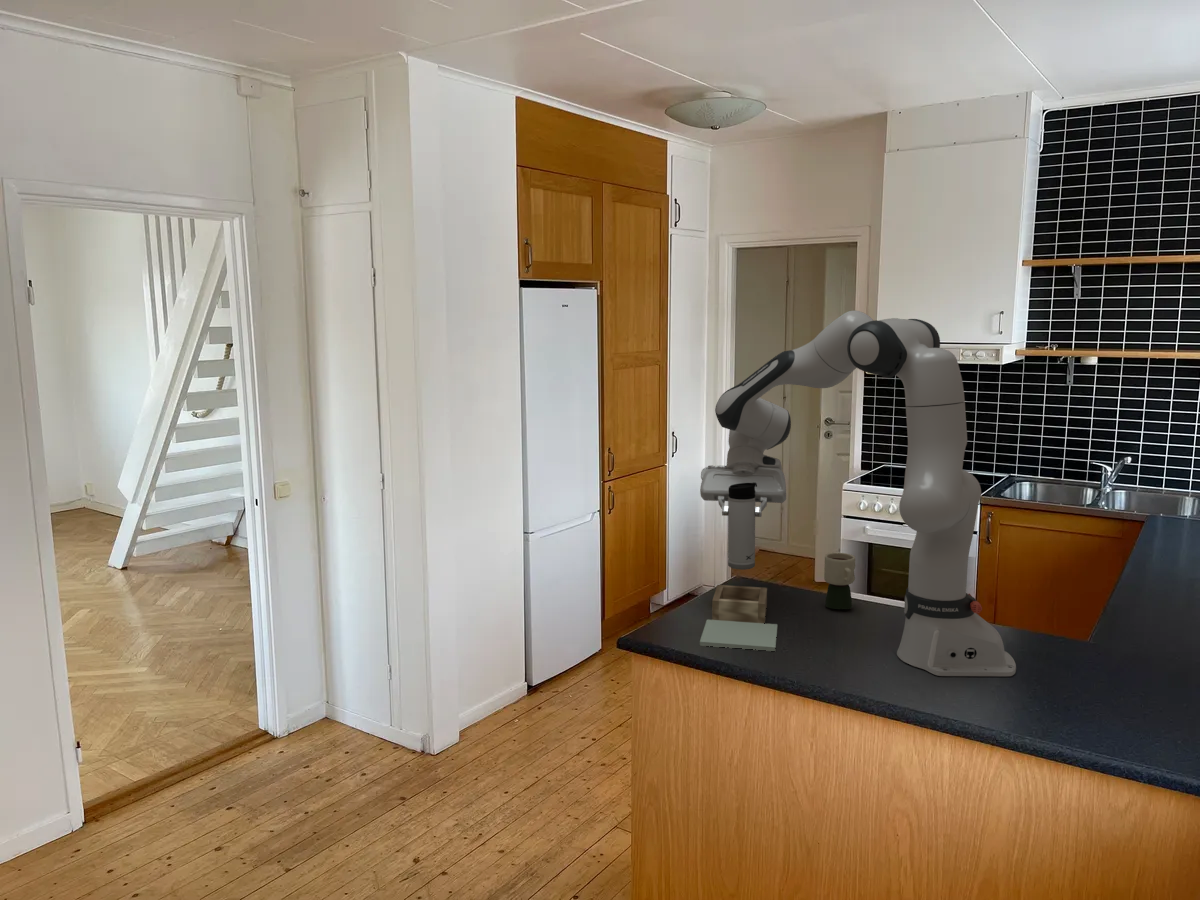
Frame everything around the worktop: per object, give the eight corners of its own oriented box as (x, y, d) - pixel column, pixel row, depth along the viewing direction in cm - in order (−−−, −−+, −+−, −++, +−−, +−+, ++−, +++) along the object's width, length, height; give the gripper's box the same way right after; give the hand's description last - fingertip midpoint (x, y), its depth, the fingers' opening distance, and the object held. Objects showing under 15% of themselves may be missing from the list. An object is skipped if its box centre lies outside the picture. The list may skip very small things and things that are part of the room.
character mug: (862, 614, 206) (864, 561, 204) (834, 616, 205) (836, 563, 203) (842, 600, 217) (843, 549, 215) (815, 602, 216) (816, 551, 214)
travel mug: (756, 570, 202) (756, 485, 199) (727, 569, 203) (727, 485, 200) (756, 562, 208) (757, 480, 205) (728, 561, 209) (728, 480, 206)
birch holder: (766, 607, 212) (767, 587, 211) (764, 624, 200) (764, 603, 200) (717, 604, 215) (717, 584, 214) (712, 620, 203) (712, 600, 202)
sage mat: (777, 628, 198) (777, 624, 198) (775, 651, 184) (775, 647, 184) (706, 623, 201) (706, 619, 201) (699, 646, 188) (699, 641, 188)
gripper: (700, 458, 211) (695, 506, 203) (787, 459, 206) (785, 509, 198) (702, 473, 216) (698, 520, 208) (787, 475, 211) (785, 523, 203)
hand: (741, 515), depth 203 cm, fingers closed on travel mug, 6 cm apart
